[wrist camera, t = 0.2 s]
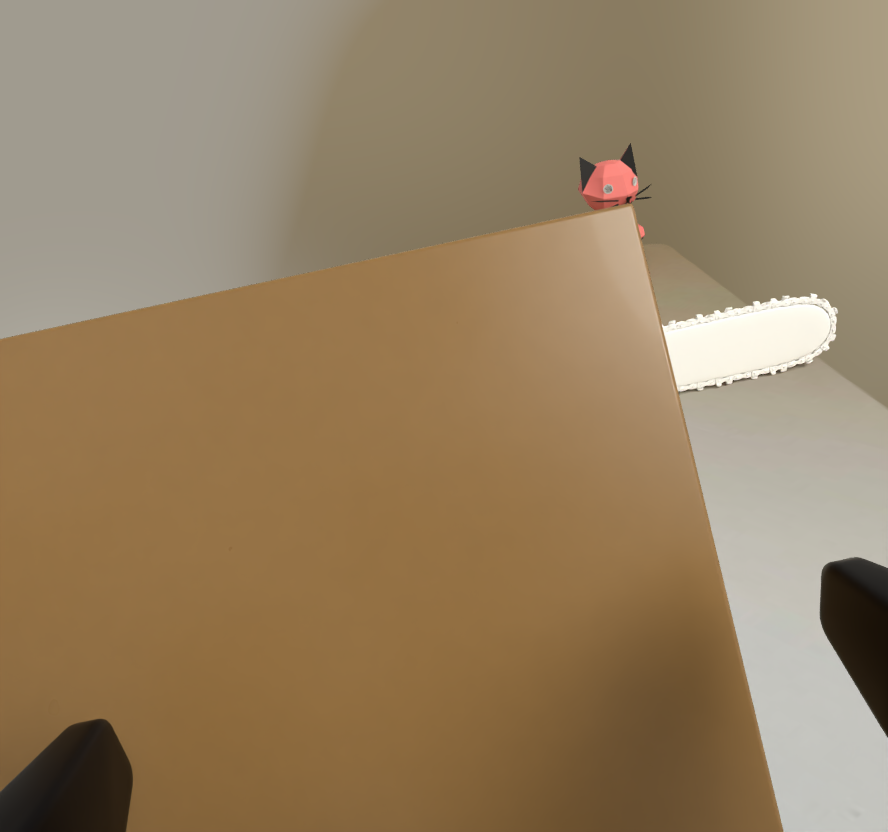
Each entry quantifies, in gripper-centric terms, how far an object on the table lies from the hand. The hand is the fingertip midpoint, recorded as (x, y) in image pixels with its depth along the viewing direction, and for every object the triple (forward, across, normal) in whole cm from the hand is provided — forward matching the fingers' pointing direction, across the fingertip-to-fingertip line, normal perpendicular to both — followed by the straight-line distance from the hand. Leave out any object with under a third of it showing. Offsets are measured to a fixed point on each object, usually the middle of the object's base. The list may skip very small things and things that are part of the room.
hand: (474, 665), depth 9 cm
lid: (+2, +2, +2) cm, 4 cm away
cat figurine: (+68, -23, +14) cm, 73 cm away
